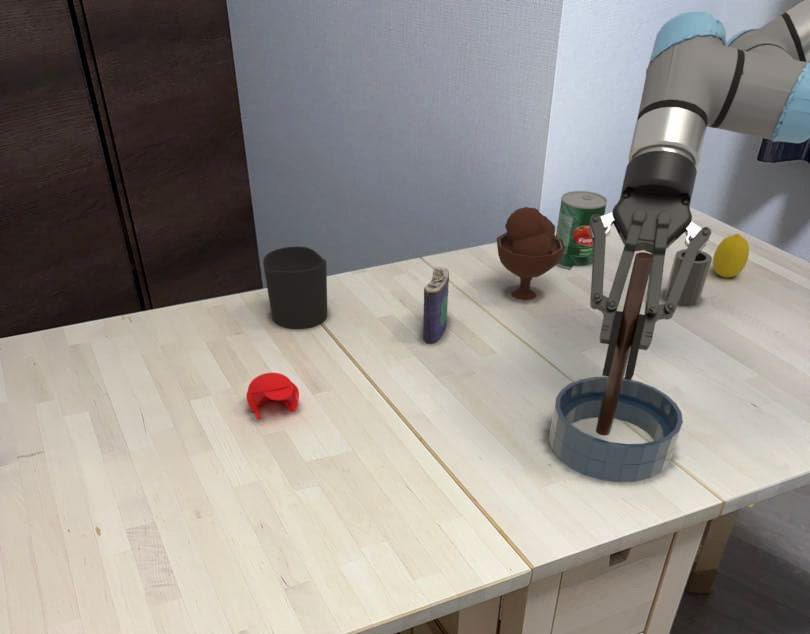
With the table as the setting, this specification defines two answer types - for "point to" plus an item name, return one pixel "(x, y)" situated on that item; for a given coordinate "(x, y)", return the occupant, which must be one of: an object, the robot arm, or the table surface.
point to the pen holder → (296, 287)
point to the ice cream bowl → (529, 248)
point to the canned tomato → (578, 226)
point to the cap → (272, 392)
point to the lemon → (731, 256)
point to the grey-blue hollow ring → (609, 457)
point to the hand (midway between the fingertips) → (617, 374)
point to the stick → (624, 340)
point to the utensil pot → (690, 278)
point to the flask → (435, 305)
